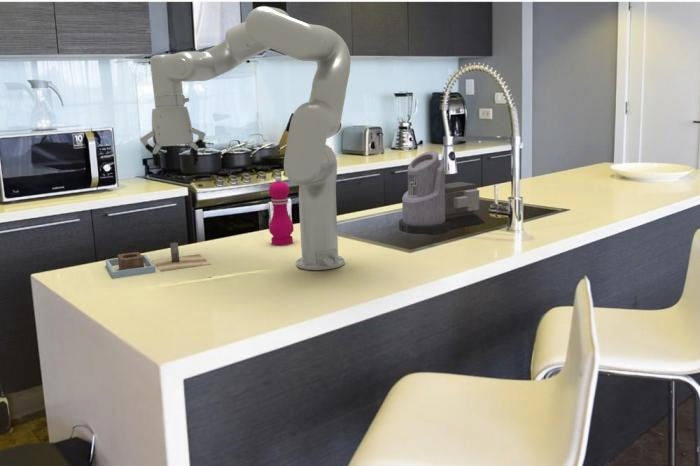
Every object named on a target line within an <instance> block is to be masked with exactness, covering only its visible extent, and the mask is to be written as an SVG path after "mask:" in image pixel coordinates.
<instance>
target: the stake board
mask: <svg viewBox="0 0 700 466" xmlns="http://www.w3.org/2000/svg"><path fill="white" fill-rule="evenodd" d="M169 245H170V246H169V247H170V255H171V256H170V257H168V258H162V259H155V260H154V259H153V260H152V261H151V262H152V263H153V264H154V265H155V267H157V269H158V271H160V272H161V273H163V272H169V271H177V270H183V269H190V268H197V267H203V266H204V267H205V266H210V265H212V264H211V263H210V261H208V260H207V259H205V258H204V257H203V256H202V255H201V254H199V253H198V254H191V255H182V256H180V251H179V250H180V249H179V243H178V242H170V243H169Z"/></svg>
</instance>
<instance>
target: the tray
mask: <svg viewBox="0 0 700 466" xmlns="http://www.w3.org/2000/svg"><path fill="white" fill-rule="evenodd" d="M141 255H142V257H143V262H144V264H145V265H146V266H144V267H141V268H134V269H127V270H115V268H114V267H113V266H119V264H118V257H117V258H109V259H105V266H106V268H107V271H108V272H109V273H110V276H111V278H112V279H114V280H115V279H121V278H127V277H132V276H141V275H147V274H154V273H156V272H157V271H156V265H155V264H154V263H153V262H152V261H151V259H150V258H149V257H148V256H147V255H146V254H141Z"/></svg>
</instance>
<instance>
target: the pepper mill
mask: <svg viewBox="0 0 700 466" xmlns="http://www.w3.org/2000/svg"><path fill="white" fill-rule="evenodd" d="M268 194H269V195H270V197H271V199H270V200H271V202H270V203H271V204H272V207H273V208H272V209H273V211H272V212H273V213H272V217H271V220H270V223H269V226H268V227H269V228H268V231H269V233H270V234H271V236H272V237H271V244H272V245H273V246H288V244H289V245H292V244H293V240H294V239H293V236H292V234H293V232H294V230H295V229H294V224H293V221H292V218H291V217H290V215H289V212H288V203H289V198H288V196H289V195H290V188H289V185H288V184H287V183H286V182H284V181H282V177H281V176H276V177H275V181H274V182H272V183H271V184H270V186H269V187H268Z"/></svg>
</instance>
